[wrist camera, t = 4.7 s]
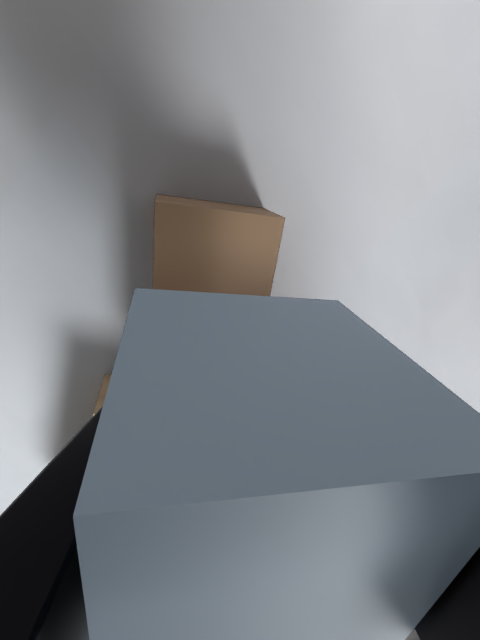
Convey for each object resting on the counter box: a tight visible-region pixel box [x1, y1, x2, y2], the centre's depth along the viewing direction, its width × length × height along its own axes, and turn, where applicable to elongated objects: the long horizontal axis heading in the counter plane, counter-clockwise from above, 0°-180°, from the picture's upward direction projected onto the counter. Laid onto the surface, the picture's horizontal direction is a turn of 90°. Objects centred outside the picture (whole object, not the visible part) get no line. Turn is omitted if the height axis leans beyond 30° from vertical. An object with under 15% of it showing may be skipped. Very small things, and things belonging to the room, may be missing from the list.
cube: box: [73, 288, 480, 640], centre depth 6 cm, size 5×5×5 cm
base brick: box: [153, 194, 285, 296], centre depth 13 cm, size 8×4×3 cm, turn 171°
